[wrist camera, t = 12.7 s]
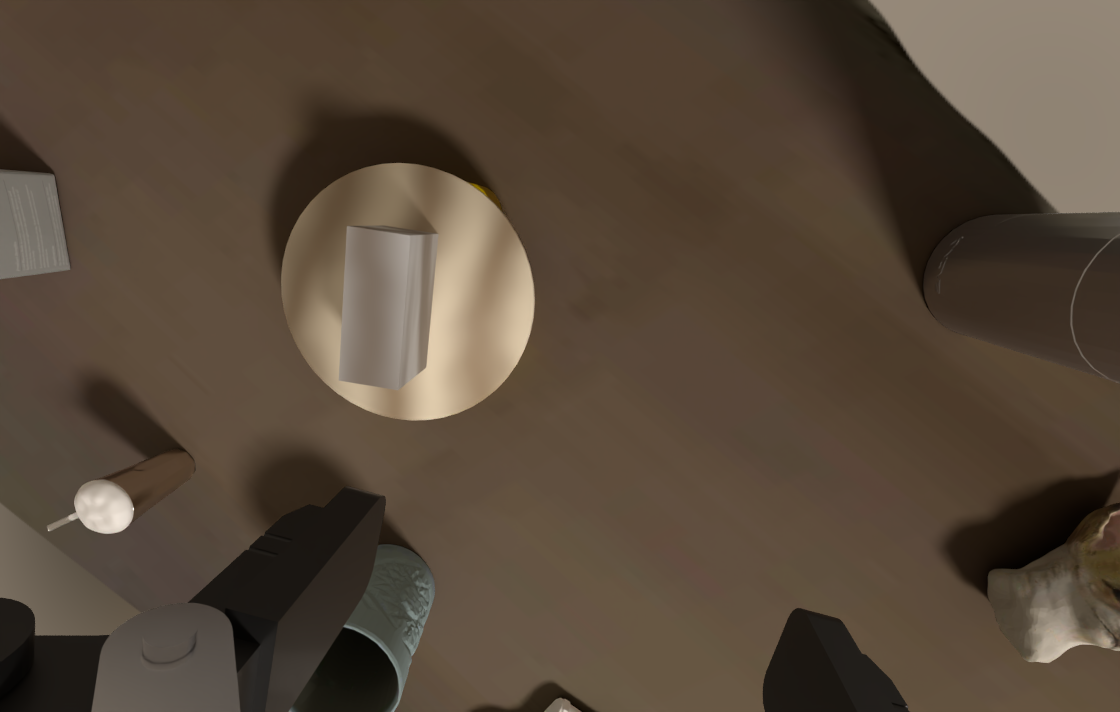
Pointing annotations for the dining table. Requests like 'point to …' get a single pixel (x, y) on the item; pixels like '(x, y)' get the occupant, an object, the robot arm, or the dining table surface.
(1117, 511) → the ceramic sculpture
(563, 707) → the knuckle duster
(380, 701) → the blue-grey pot
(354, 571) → the robot arm
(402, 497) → the dining table surface
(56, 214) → the skincare box
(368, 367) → the lid
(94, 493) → the milkshake
